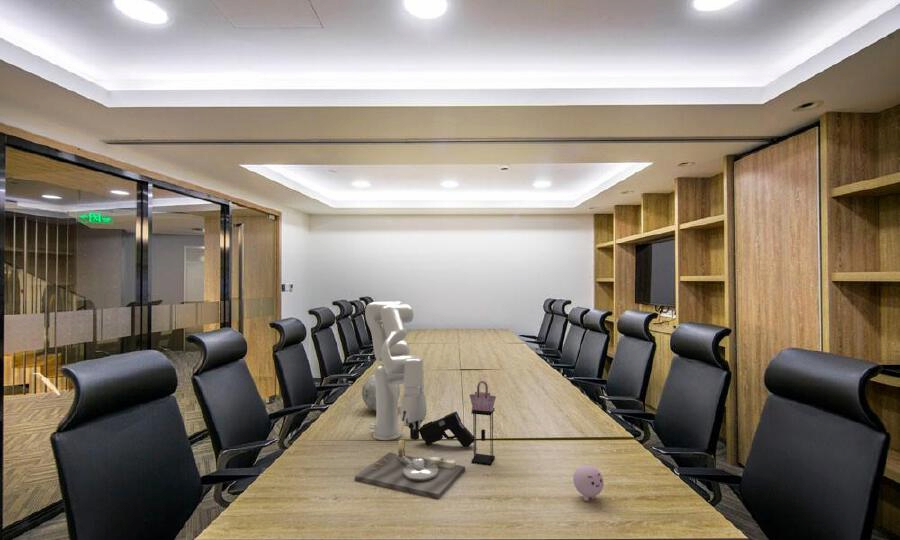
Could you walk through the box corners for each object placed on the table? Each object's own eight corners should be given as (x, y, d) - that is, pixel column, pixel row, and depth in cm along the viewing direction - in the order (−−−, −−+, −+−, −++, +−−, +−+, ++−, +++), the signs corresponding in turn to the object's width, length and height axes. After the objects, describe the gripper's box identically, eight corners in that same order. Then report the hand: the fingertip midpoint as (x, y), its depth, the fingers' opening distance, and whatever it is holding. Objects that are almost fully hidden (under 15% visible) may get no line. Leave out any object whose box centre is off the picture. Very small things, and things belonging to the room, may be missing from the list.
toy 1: (475, 445, 174) (459, 410, 176) (432, 463, 177) (417, 429, 179) (477, 440, 179) (462, 407, 181) (435, 458, 182) (420, 424, 184)
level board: (354, 480, 148) (354, 468, 148) (389, 456, 168) (389, 446, 168) (438, 498, 135) (438, 486, 135) (465, 470, 155) (464, 459, 155)
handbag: (498, 458, 166) (498, 379, 166) (494, 466, 159) (493, 384, 159) (472, 454, 169) (472, 378, 170) (467, 462, 162) (466, 382, 163)
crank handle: (444, 474, 148) (444, 453, 148) (415, 484, 141) (414, 462, 141) (410, 453, 167) (410, 434, 167) (382, 460, 160) (382, 441, 160)
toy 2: (587, 508, 129) (586, 474, 129) (567, 495, 137) (567, 463, 137) (609, 502, 132) (609, 469, 133) (589, 489, 141) (589, 458, 141)
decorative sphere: (381, 403, 241) (380, 367, 242) (407, 409, 230) (407, 371, 230) (354, 412, 225) (354, 373, 226) (381, 419, 214) (381, 378, 214)
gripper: (420, 385, 174) (420, 431, 173) (392, 392, 162) (393, 442, 161) (434, 388, 169) (434, 435, 168) (407, 395, 157) (407, 446, 157)
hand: (414, 438), depth 165 cm, fingers closed
